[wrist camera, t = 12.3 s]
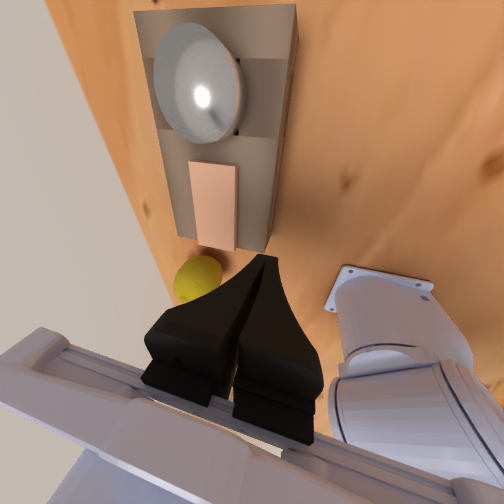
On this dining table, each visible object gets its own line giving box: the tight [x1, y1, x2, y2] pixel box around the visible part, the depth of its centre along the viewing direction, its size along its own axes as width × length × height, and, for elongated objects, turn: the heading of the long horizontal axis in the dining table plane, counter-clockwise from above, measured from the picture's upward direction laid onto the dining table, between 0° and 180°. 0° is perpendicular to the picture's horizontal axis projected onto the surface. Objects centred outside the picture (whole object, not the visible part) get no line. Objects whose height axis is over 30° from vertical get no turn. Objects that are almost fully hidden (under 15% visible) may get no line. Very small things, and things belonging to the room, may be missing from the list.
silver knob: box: [153, 22, 248, 143], centre depth 13 cm, size 5×5×6 cm
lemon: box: [173, 255, 222, 303], centre depth 23 cm, size 6×6×8 cm
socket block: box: [133, 4, 299, 253], centre depth 16 cm, size 10×16×4 cm, turn 176°
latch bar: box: [188, 160, 238, 252], centre depth 17 cm, size 8×4×1 cm, turn 176°
